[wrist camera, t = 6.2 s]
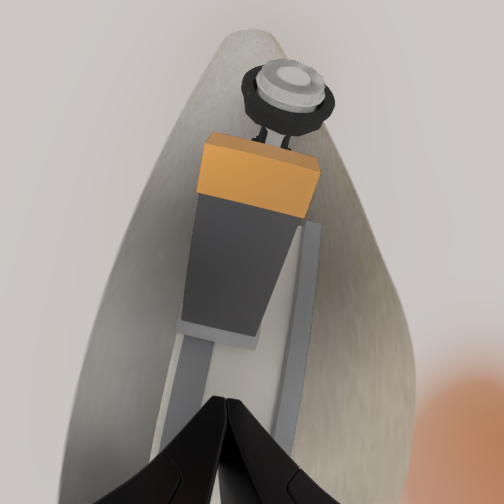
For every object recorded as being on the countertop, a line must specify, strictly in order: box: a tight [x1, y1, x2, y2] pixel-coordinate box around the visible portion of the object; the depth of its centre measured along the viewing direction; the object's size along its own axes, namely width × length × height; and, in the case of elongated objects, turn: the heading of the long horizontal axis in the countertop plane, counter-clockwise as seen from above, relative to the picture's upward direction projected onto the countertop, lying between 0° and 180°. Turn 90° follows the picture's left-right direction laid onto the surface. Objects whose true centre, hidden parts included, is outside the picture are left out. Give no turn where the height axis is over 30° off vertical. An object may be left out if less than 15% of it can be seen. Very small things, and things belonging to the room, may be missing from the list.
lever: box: [175, 132, 321, 350], centre depth 13 cm, size 2×4×10 cm, turn 81°
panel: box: [149, 220, 322, 504], centre depth 17 cm, size 20×7×3 cm, turn 170°
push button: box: [241, 59, 335, 151], centre depth 20 cm, size 7×5×10 cm
